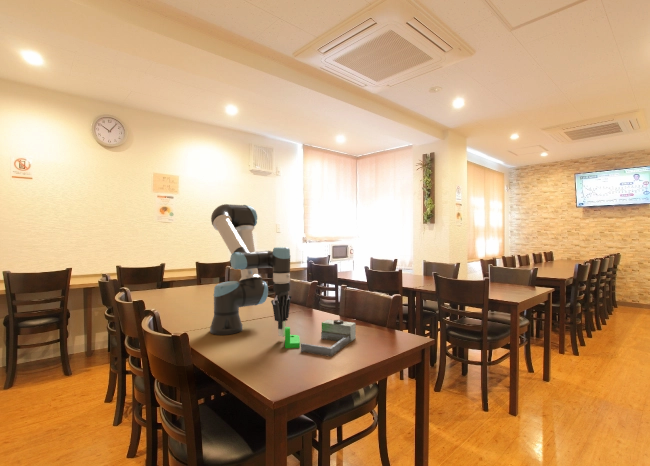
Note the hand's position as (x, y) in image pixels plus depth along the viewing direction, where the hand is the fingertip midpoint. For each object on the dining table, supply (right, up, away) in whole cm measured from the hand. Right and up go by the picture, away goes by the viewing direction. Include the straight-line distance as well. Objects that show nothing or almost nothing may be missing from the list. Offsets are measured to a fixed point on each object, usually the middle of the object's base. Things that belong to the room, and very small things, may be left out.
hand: (281, 335), depth 150 cm
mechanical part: (+5, -2, -4) cm, 7 cm away
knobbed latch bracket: (+21, -2, -6) cm, 22 cm away
